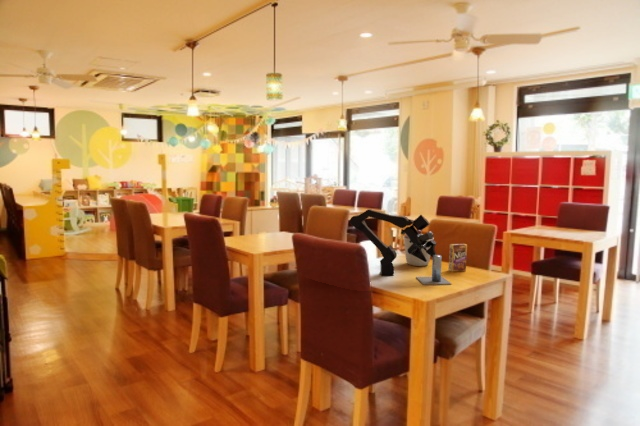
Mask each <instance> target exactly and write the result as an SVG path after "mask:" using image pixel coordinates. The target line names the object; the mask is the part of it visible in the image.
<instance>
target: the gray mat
mask: <svg viewBox="0 0 640 426" xmlns="http://www.w3.org/2000/svg"><path fill="white" fill-rule="evenodd" d="M415 279H416V280H417V281H418V282H419V283H420V284H422V285H423V286H434V285H435V286H436V285H437V286H440V285H441V286H444V285H445V286H446V285H447V286H449V285H450V286H451V285H452V282H450V281H449V280H447V279H446V277H443V276H441V282H433V281H432V276H416V277H415Z"/></svg>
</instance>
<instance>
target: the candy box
mask: <svg viewBox="0 0 640 426" xmlns="http://www.w3.org/2000/svg"><path fill="white" fill-rule="evenodd" d="M448 251H449V254H448V255H449V256H448V271H450V272H466V271H467V252H468V244H466V243H450V244H449V250H448Z"/></svg>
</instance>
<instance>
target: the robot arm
mask: <svg viewBox="0 0 640 426" xmlns="http://www.w3.org/2000/svg"><path fill="white" fill-rule="evenodd" d="M368 218H372V219H376V220H380V221H383V222H387V223H391V224H392V225H394V226H395V227H398V228H401V231H400V235H403V236H405V235H407V236H408V238H409V239H410V241H409V242H410V243H413V244H412V245H411V246H410V247H409V248H408V249H407V252H408V253H409V254H411V255H413V256H415V257H417V258H419V259H421V260H423V261H424V262H426V261H427V260H426V258H425V256H424V254H423V253H422V249H423V248H424V250H426V252H427V253H428V254H429V255H430V258H431V257H432V258H433V255H437V253H436V250H435V249H436V248H435V247H436V245H437V242H436V241H435V240H434V239H433V238H434V233H433V232H432V231H428V232H426V233H421V234H419V233H418V232H417V230H418V231H419V230H421V232H422V231H423V230H424V229H426V228H427V227H429V225H430V224H431V223H430V222H429V220H428V219H427V218H425V216H423V215H422V214H419V216H418V217H416V218H415V219H414V220H413V219H409V218H408V216H406V215H392V214H390V213H385V212H382V211H377V210H374V209H372V208H369V209H367V210H365V211H364V212H362V213H360V214H356V215H353V216H351V217H350V220H349V224H350V225H351V226H352V227H353V228H355V230H358V231H360V232H361V233H362V234H363V235H365V237H366V238H367V239H368V240H369V242H370V241H371V243H372V244H373V245H374V246H375V247H376V248H377V249H378V250H379V252H380V254H381V256H382V258H381V259H380V260H379V262H380V265H379V267H380V269H379V270H380V272H379V274H380V276H382V277H383V276H384V277H387V276H388V277H389V276H390V277H391V276H392V277H393V276H394V274H395V266H394V263H393V262H394V261H395V260H396V259H397V254H398V253H397V252H396V251H397V250H396V249H395V248H393V246H392V245H391V244H389V245H387V244H386V243H384V242H383V241H382V240H381V239H380V237H378V236H377V235H376V233H375V232H374V231H373V230H371V228H370V227H368V225H367V223H366V221H365V220H367V219H368ZM422 234H423V235H422ZM429 239H433V240H431V241H428V242H427V240H429ZM426 242H427V243H426ZM425 243H426V244H425Z"/></svg>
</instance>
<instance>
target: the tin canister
mask: <svg viewBox="0 0 640 426" xmlns="http://www.w3.org/2000/svg"><path fill="white" fill-rule="evenodd" d="M442 260H443V258H442V255H441V254H436V255H433V257H432V260H431V261H432V265H431V277H432V281H433V282H441V277H442Z"/></svg>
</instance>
